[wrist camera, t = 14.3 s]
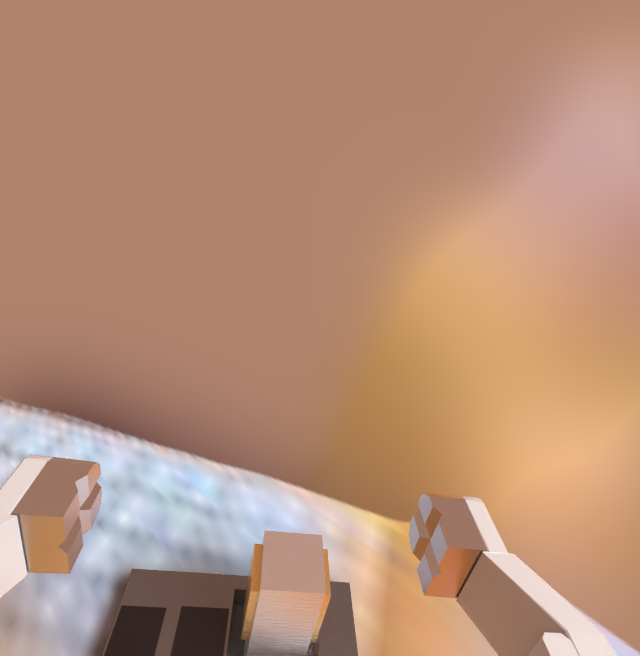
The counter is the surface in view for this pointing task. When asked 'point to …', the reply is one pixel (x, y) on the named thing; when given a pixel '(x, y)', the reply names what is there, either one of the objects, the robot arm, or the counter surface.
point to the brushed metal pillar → (285, 594)
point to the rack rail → (205, 616)
